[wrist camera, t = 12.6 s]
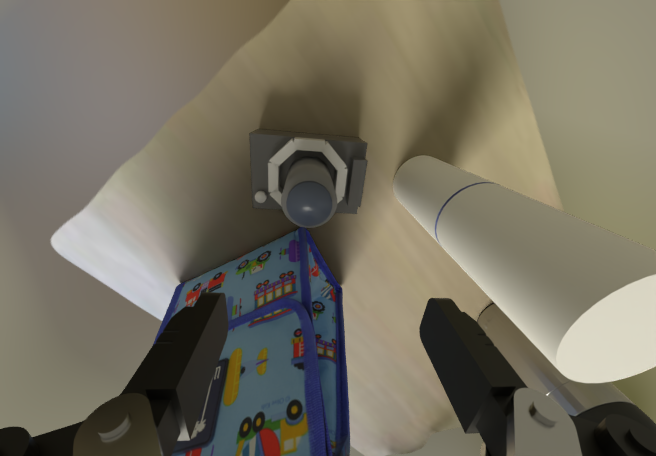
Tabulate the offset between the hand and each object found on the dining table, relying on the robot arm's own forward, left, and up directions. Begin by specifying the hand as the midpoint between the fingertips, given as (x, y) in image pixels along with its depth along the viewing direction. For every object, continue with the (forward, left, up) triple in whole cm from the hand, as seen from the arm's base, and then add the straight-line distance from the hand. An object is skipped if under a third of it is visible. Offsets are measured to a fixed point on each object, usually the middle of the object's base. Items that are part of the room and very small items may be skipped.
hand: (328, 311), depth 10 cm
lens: (+1, 0, -20) cm, 20 cm away
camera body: (+1, 0, -25) cm, 25 cm away
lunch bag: (+7, +19, -25) cm, 32 cm away
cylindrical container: (-14, +1, -25) cm, 29 cm away
